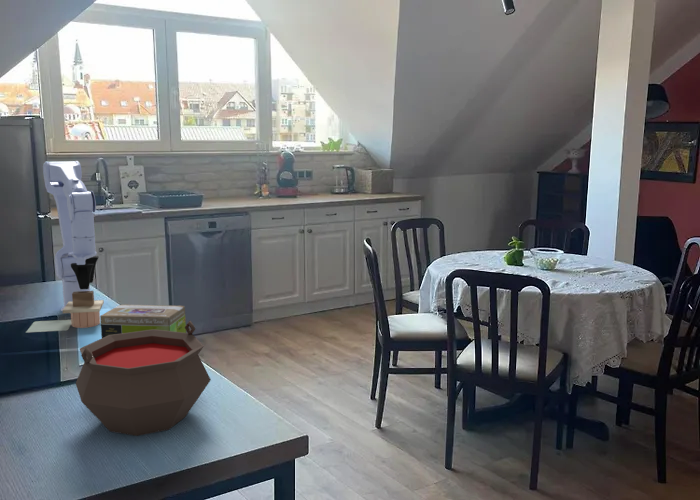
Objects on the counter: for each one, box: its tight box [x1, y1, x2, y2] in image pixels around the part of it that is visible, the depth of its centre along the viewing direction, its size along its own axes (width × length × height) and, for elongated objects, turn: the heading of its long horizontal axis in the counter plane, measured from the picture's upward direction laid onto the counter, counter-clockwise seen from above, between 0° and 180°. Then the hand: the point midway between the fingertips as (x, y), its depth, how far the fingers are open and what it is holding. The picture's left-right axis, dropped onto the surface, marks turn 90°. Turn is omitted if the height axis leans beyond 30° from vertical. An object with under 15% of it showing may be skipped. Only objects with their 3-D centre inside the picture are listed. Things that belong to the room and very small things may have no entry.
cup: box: [70, 312, 101, 329], centre depth 177 cm, size 7×7×5 cm
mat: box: [25, 319, 72, 334], centre depth 175 cm, size 10×10×1 cm
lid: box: [62, 290, 104, 314], centre depth 176 cm, size 9×9×4 cm
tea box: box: [100, 304, 187, 339], centre depth 141 cm, size 15×10×15 cm
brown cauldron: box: [75, 320, 212, 437], centre depth 120 cm, size 24×24×16 cm
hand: (86, 285), depth 180 cm, fingers open, 7 cm apart
